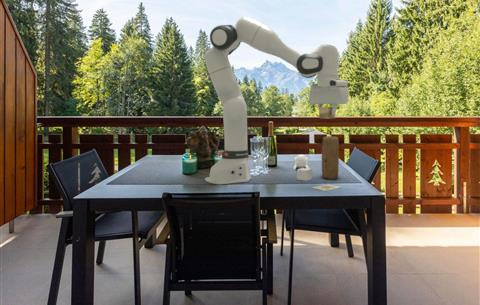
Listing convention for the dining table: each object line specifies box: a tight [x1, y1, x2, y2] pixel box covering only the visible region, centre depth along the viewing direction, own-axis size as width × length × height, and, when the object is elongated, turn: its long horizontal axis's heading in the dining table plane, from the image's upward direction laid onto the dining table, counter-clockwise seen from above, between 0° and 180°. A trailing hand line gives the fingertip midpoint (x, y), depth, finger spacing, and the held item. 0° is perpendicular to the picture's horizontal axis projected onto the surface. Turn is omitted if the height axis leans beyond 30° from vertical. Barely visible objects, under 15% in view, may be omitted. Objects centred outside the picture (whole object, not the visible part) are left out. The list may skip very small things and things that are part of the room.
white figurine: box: [292, 154, 310, 171], centre depth 207 cm, size 9×8×15 cm
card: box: [312, 183, 342, 192], centre depth 162 cm, size 10×7×1 cm
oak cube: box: [318, 106, 336, 120], centre depth 167 cm, size 5×5×5 cm
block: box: [321, 135, 340, 180], centre depth 183 cm, size 11×8×20 cm
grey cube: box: [296, 167, 313, 182], centre depth 180 cm, size 5×5×5 cm
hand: (327, 114), depth 167 cm, fingers closed on oak cube, 5 cm apart
